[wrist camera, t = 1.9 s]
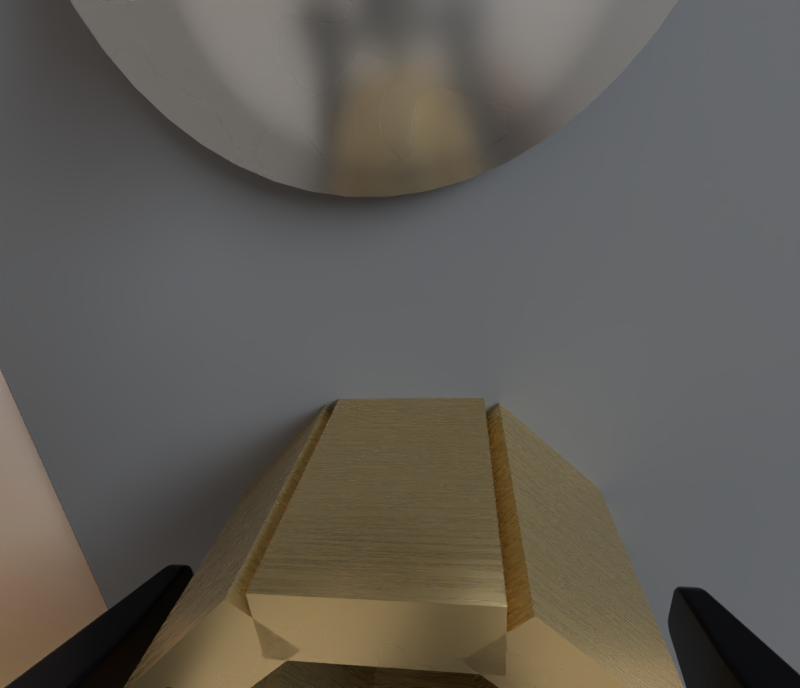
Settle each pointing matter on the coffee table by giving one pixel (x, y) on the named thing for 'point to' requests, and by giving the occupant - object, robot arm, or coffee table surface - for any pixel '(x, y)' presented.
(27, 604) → the coffee table surface
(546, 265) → the mat
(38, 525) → the coffee table surface
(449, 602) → the bronze ring
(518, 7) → the silver rounded piece
